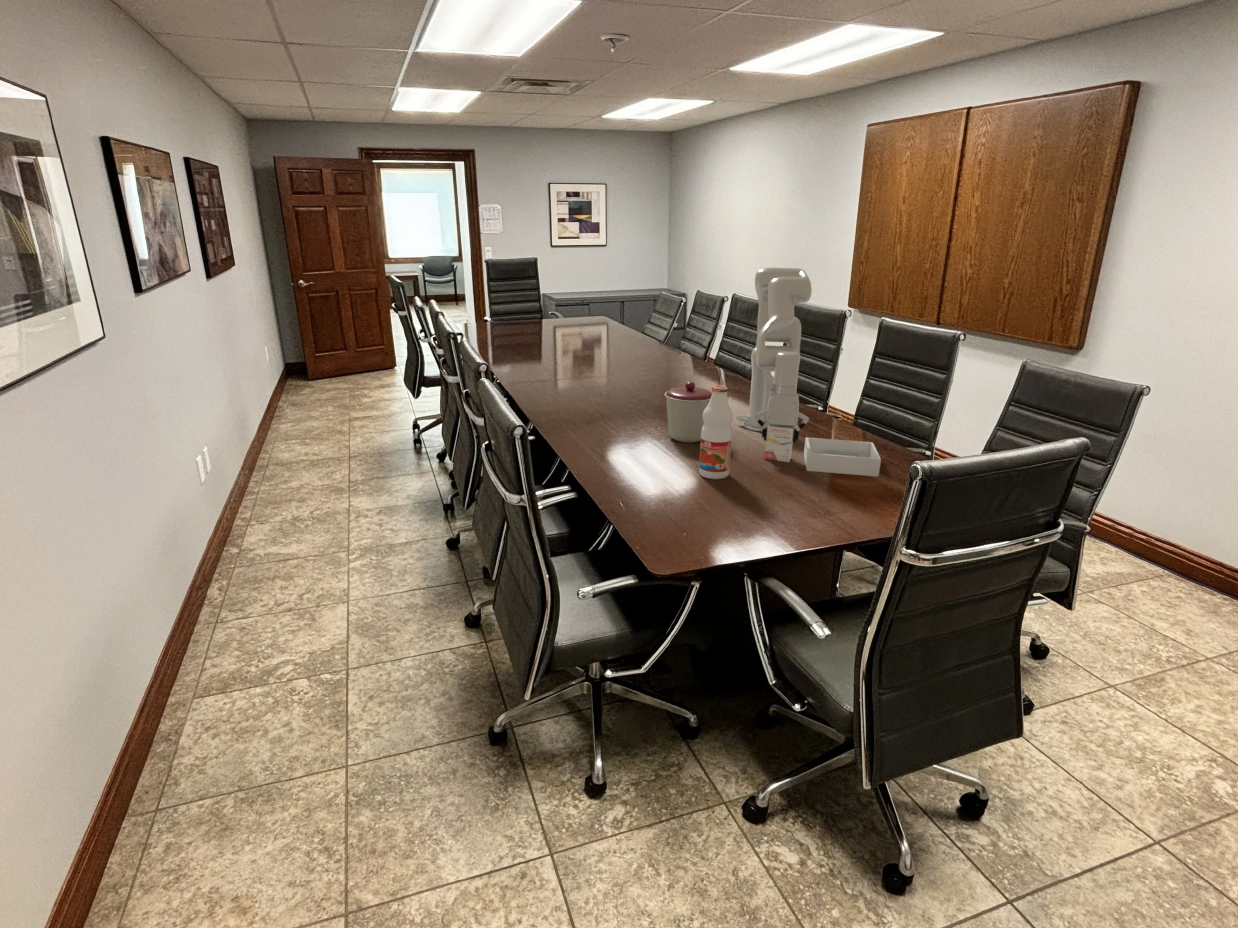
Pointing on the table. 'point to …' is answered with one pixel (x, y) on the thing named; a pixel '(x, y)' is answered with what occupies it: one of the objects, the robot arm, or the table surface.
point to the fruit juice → (716, 436)
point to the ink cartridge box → (779, 442)
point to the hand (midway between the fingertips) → (779, 440)
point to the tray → (841, 457)
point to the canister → (686, 411)
